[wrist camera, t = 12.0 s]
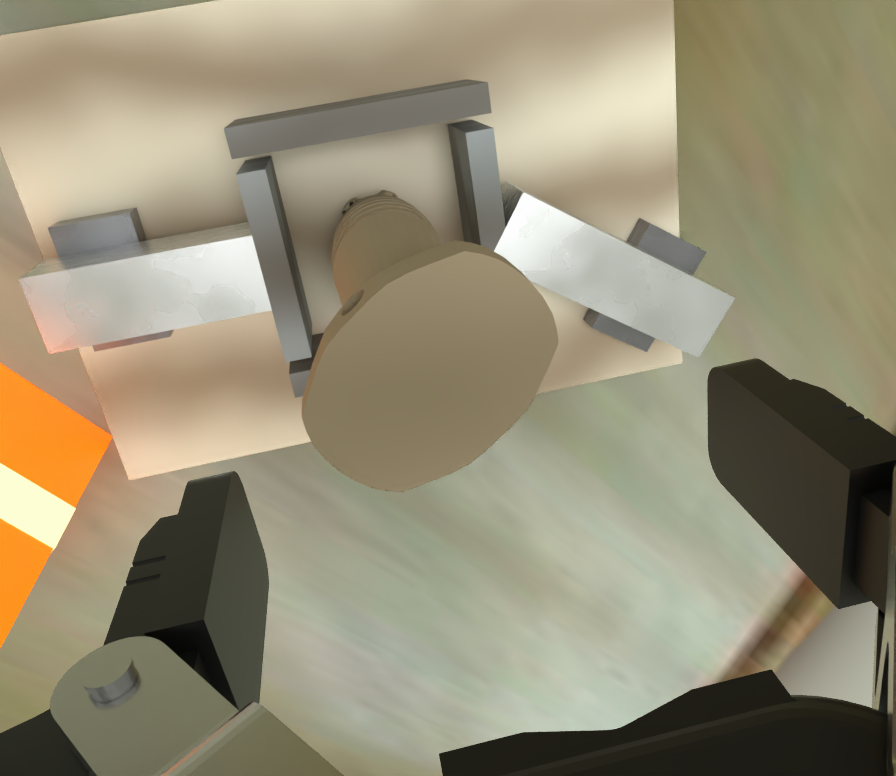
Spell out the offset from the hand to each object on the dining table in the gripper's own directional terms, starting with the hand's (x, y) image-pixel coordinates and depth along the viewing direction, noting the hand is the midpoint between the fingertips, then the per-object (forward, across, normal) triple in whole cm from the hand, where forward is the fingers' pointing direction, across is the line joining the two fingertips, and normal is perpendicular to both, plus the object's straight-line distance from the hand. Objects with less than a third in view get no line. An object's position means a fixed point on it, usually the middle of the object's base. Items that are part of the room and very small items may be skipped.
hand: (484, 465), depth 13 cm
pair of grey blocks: (+20, 0, +3) cm, 20 cm away
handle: (+20, 0, 0) cm, 21 cm away
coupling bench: (+21, 0, 0) cm, 21 cm away
